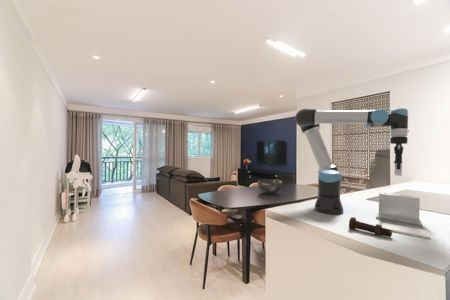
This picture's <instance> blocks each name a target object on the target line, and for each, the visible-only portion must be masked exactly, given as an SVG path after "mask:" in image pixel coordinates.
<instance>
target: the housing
mask: <svg viewBox="0 0 450 300" xmlns="http://www.w3.org/2000/svg"><path fill="white" fill-rule="evenodd" d="M420 200H421V198H420V196H418V195H417V196H416V195H408V194H402V193H401V194H399V193H391V192H381V191H380V192H378V212H377V213H376V215H375V219H376V220H381V221H385V222H392V223H398V224H404V225H409V226H414V227H415V226H417V227H420V228H421V227H423V223H422V221H421V219H420V202H421V201H420Z"/></svg>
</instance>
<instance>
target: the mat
mask: <svg viewBox="0 0 450 300" xmlns="http://www.w3.org/2000/svg"><path fill="white" fill-rule="evenodd" d="M381 226H382V228H385V229H390V230H392V233H397V234H401V235H408V236H412V237H413V236H414V237H416V238H417V237H418V238H422V239H428V240H431V239H432V237H431V234H430V233H429V230H427V229H421V228H416V227H412V226H411V227H410V226H404V225H399V224H395V223H388V222H382V224H381Z"/></svg>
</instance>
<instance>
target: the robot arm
mask: <svg viewBox="0 0 450 300" xmlns="http://www.w3.org/2000/svg"><path fill="white" fill-rule="evenodd" d="M294 120H295V123H296V124H297V126H298V127H300V130H301V133H302V134H303V135H305V136H306V139H307V141H308V143H309V145H310V149H311V150H312V153H313V156H314V158H315V161H316V164H317V166H318V171H317V172H318V175H317V178H318V182H317V183H318V186H317V188H318V189H317V192H318V193H317V198H316V201H315V204H314V211H316V212H319V213H323V214H329V215H330V214H331V215H341V214H344V207H343V203H342V201H341V186H342V184H343V176H342V174H341V172H339V170H338V167H337V165H335V164H333V162H332V161H333V160H332V158H331V157H330V154H329V151H328V149H327V146H326V145H325V141H324V139H323V137H322V135H321V132H320V128H321V126H320V124H326V125H327V124H331V125H333V124H335V125H336V124H337V125H338V124H340V125H341V124H343V125H346V124H347V125H349V124H350V125H352V124H353V125H365V126H366V127H367V128H381V127H382V128H383V127H390V133H389V136H390V139H389V140H390V141H389V142H390V144H391V145H392V144H394V145H395V146H394V147H393V151H394V157H395V158H394V161H393V164H394V175H395V176H398V177H401V176H403V175H402V173H403V167H402V166H403V152H404V147H403V144H404V145H405V144H408V137H407V136H408V133H409V132H410V130H408V129H409V126H408V125H409V124H408V123H409V111H408V109H407V108H405V107H404V108H401V107H399V108H394V109H391V110H390V112H388V111H387V110H386V109H383V108H378V109H369V110H368V109H362V110H361V109H359V110H358V109H357V110H347V109H346V110H318V109H317V108H301V109H300V110H298V111H297V113H296V114H295V117H294Z"/></svg>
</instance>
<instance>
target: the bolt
mask: <svg viewBox="0 0 450 300" xmlns="http://www.w3.org/2000/svg"><path fill="white" fill-rule="evenodd" d="M348 221H349V222H348V228H349V230H351V231H354V230H356V229H357V230H361V231H365V232H368V233H372V234H374V236H376V237H381V236H383V237H386V238H391V237H392V236H393V232H392V230H390V229H385V228H382V224H378V223H377V224H375V225H373V224H370V223H366V222H363V221H359V220H357V219H356V217H354V216H353V217H350V219H349V220H348Z"/></svg>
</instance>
